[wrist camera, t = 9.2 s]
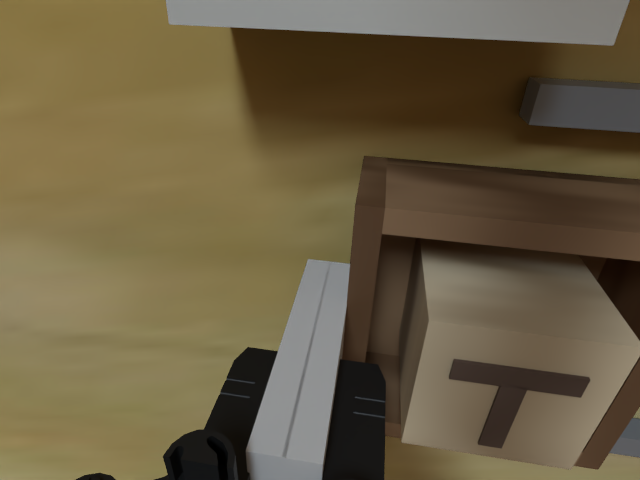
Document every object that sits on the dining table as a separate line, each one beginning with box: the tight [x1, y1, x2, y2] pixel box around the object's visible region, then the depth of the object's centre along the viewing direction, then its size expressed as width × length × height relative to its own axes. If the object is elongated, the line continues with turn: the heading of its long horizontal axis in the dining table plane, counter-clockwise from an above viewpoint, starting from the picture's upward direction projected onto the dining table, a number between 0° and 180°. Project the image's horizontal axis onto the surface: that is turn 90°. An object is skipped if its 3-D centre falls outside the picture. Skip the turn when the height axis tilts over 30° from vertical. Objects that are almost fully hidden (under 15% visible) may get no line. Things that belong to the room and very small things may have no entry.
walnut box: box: [342, 156, 640, 469], centre depth 13 cm, size 8×8×4 cm
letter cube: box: [399, 238, 640, 470], centre depth 12 cm, size 4×4×5 cm
